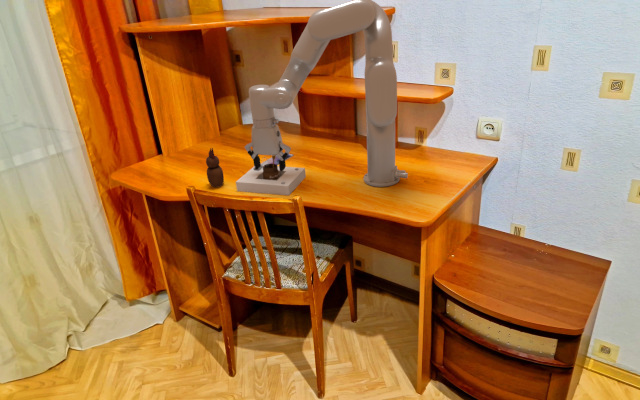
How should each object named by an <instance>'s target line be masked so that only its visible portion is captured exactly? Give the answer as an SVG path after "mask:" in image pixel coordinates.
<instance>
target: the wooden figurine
mask: <svg viewBox="0 0 640 400" xmlns="http://www.w3.org/2000/svg"><path fill="white" fill-rule="evenodd" d="M205 164H206V167H207V169H206V176H207V177H206V178H207V181H208V183H209V185H210V186H211V187H213V188H219V187H221V186H223V184H224V183H225V182H224V180H225V178H224V171H223V168H222V167H221V166H220V159H219V157H218V156H217V155H215V152H214V149H213V147H211V148H210V149H209V150H208V156H207V157H206V159H205Z"/></svg>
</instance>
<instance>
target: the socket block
mask: <svg viewBox="0 0 640 400" xmlns="http://www.w3.org/2000/svg"><path fill="white" fill-rule="evenodd" d="M263 166H264V165H261V167H259V168H258V169H257V170H256V169H255V166H254V165H253V167H251V168H250V169H249V170H248V171H247V172H246V173H244V174H243V175H242V176H241V177H240V178H239V179H237V180H236V181H235V187H236V192H245V193H247V192H248V193H259V194H267V195H268V194H269V195H278V196H279V195H281V196H290V195H291V194H292V192H294V190H296V188H297V187H298V186H299V185H300V184H301V182H302V181H304V180H305V178H306V177H307V175H306V168H305V167H294V166H286V167H285V169H284V170H283V171H280V168H279V165H277V167H278V168H277V169H278V171H279V175H280V178H279V179H278V180H264V179H263Z"/></svg>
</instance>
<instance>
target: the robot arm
mask: <svg viewBox="0 0 640 400" xmlns="http://www.w3.org/2000/svg"><path fill="white" fill-rule="evenodd" d="M358 32H362V33H363V39H364V41H363V42H364V52H365V53H364V55H365V64H364V65H365V67H364V91H365V93H364V94H365V120H366V121H365V123H366V154H367V158H366V159H367V173H365V174H364V176H363V182H364V184H367V185H368V186H371V187H376V188H377V187H378V188H379V187H380V188H382V187H383V188H384V187H391V186H393V185H396V184H398V183H399V181H400V179H401V178H402V179H408V176H409V175H408V174H409V173H408V172H406V170H403V169H402V170H399V168H398V165H396V118H397V114H398V77H397V71H396V67H395V63H394V53H393V52H394V51H393V34H392V27H391V21H390V19H389V17H388V15H387V12H386V11H385V10H384V9H383V8H382V6H381V5H380V4H378V3H377V2H376V1H374V0H350V1H348V2H344V3H342V4H339V5H335V6H332V7H329V8H319V9H317V10H315V11H314V12H313V13H312V14H311V15H310V17H309V18H308V21H307V24H306V26H305V27H304V30H303V32H301V35H300V37H299V38H298V41H297V42H296V43H295V46H294V48H293V50H292V52H291V53H290V54H291V55H290V59H289V62H288V64H287V66H286V68H285V69H284V72H283V74H282V75H281V77H280V79H279V81H278V82H277V84H275V86H272V87H270V85H268V84H257V85H256V84H255V85H252V86H250V87H249V88H248V97H249V104H250V111H251V119H252V126H251V142H249V143H247V144H245V146H244V149H245V150H246V151H247V154H248V155H249V156H250V157H251V159H252V161H253V167H254V166H255V169H256V170H257V169H258V168H259V167H261V158H260V155H262V156H272V155H274V156H275V155H276V156H277V157H278V158H279V159H280V160H279V165H278V166H279V168H280V171H283V170H284V169H285V167H287V166H286V165H287V164H286V161H285V158H286V157H287V156H288V154H290V152H291V150H292V147H291V146H289V145H288V144H285V143H284V141H283V137H282V134H281V130H280V128H279V125H278V124H279V119H276V116H275V109H276V110H285V109H288V108H289V107H291V105H292V104H293V103H294V101H295V98H296V97H297V95H298V94H299V91H300V89H301V88H302V86H303V84H304V83H305V81H306V79H307V77H308V76H309V74H310V73H311V72H312V71H313V70H314V68H315V67H316V66H317V63H318V62H319V61H320V59H321V57H322V56H323V54H324V51H325V50H326V48H327V47H328V45H329V43H330V42H331V40H336V39H339V38H341V37H345V36H348V35H352V34H356V33H358ZM251 147H252V148H251ZM283 151H284V152H283Z"/></svg>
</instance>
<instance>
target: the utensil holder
mask: <svg viewBox="0 0 640 400" xmlns="http://www.w3.org/2000/svg"><path fill="white" fill-rule="evenodd" d="M271 158H273V164H266V165H264V166H263V179H264V180H278V179H279V178H280V175H279V171H278V169H277V168H278V167H277V166H278V165H276V164H274V159H276V155H271ZM263 159H264V160H263ZM268 159H269V158H267V157H266V158H264V157H262V158H261V161H264V162H266V160H268ZM267 162H268V161H267ZM261 163H262V164H263V162H261Z"/></svg>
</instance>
